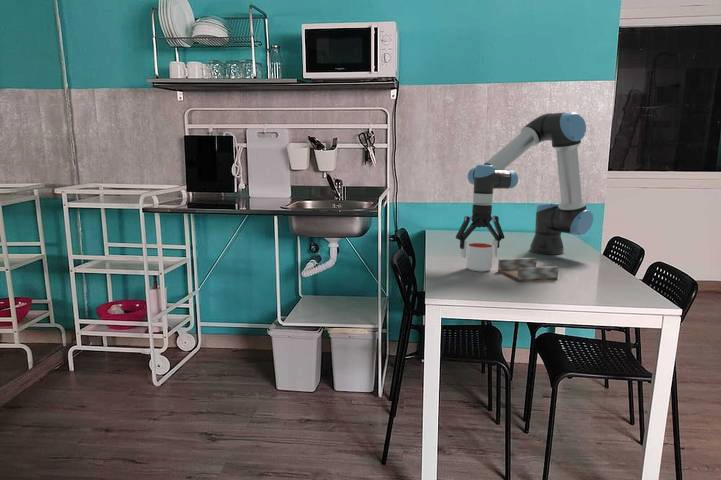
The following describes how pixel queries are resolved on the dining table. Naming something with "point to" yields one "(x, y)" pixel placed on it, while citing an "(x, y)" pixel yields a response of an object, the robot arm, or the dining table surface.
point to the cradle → (526, 270)
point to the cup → (479, 257)
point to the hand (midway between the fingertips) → (478, 256)
